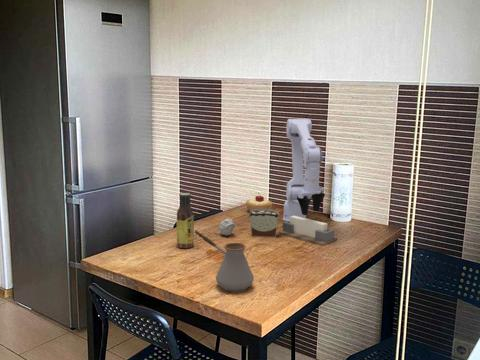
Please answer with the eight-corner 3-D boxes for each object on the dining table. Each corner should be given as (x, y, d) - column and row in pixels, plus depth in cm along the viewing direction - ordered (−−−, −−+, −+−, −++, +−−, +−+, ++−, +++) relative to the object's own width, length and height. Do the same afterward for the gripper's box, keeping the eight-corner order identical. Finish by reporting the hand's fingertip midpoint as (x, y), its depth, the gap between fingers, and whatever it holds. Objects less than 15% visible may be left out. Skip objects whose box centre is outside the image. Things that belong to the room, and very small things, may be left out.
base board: (279, 233, 213) (279, 231, 212) (294, 228, 220) (294, 226, 220) (322, 245, 199) (322, 243, 199) (337, 239, 206) (337, 237, 206)
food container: (279, 233, 214) (280, 208, 212) (279, 237, 208) (280, 213, 206) (249, 231, 215) (249, 207, 213) (248, 236, 209) (248, 211, 207)
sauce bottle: (191, 249, 193) (190, 196, 189) (174, 248, 194) (173, 195, 190) (196, 244, 199) (195, 192, 195) (180, 242, 201) (179, 191, 196)
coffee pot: (260, 284, 163) (261, 237, 160) (239, 297, 153) (240, 248, 150) (205, 269, 174) (205, 225, 171) (182, 281, 165) (182, 234, 162)
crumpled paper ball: (225, 239, 205) (225, 221, 204) (215, 234, 211) (215, 217, 210) (238, 236, 209) (238, 219, 208) (228, 231, 214) (228, 215, 213)
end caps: (282, 230, 214) (282, 222, 213) (291, 227, 218) (291, 219, 217) (325, 242, 200) (325, 233, 200) (334, 238, 205) (334, 229, 204)
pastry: (250, 216, 238) (250, 196, 236) (243, 209, 249) (243, 191, 247) (275, 214, 241) (276, 195, 239) (267, 207, 252) (267, 189, 250)
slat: (289, 231, 213) (289, 216, 212) (293, 229, 215) (293, 215, 214) (323, 239, 203) (323, 224, 202) (326, 238, 205) (327, 223, 204)
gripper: (309, 183, 198) (307, 218, 201) (330, 177, 208) (329, 211, 211) (294, 180, 203) (292, 214, 206) (316, 175, 213) (314, 207, 216)
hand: (310, 212), depth 209 cm, fingers open, 7 cm apart
